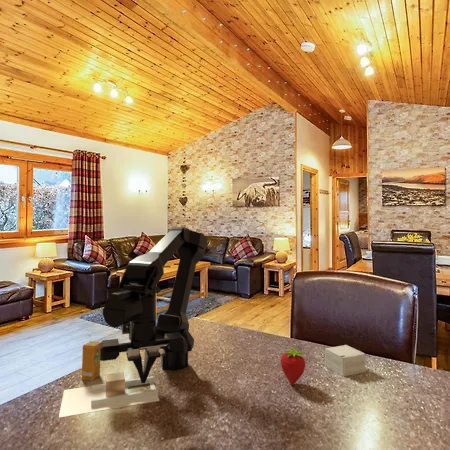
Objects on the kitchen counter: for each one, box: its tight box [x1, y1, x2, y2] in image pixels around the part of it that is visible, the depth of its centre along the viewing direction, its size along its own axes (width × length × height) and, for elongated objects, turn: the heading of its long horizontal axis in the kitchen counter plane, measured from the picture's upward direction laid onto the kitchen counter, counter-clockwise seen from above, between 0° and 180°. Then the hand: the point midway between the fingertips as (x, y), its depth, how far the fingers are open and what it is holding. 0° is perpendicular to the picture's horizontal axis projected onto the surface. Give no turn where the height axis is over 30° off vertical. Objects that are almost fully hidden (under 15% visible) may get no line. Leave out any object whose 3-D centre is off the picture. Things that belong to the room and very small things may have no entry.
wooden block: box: [105, 371, 126, 397], centre depth 80 cm, size 4×4×4 cm
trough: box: [58, 375, 160, 418], centre depth 79 cm, size 20×12×3 cm, turn 110°
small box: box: [324, 344, 367, 377], centre depth 97 cm, size 8×8×5 cm
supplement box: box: [81, 340, 101, 381], centre depth 88 cm, size 3×3×10 cm
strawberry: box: [280, 344, 306, 386], centre depth 88 cm, size 6×8×10 cm
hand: (143, 382), depth 82 cm, fingers closed
